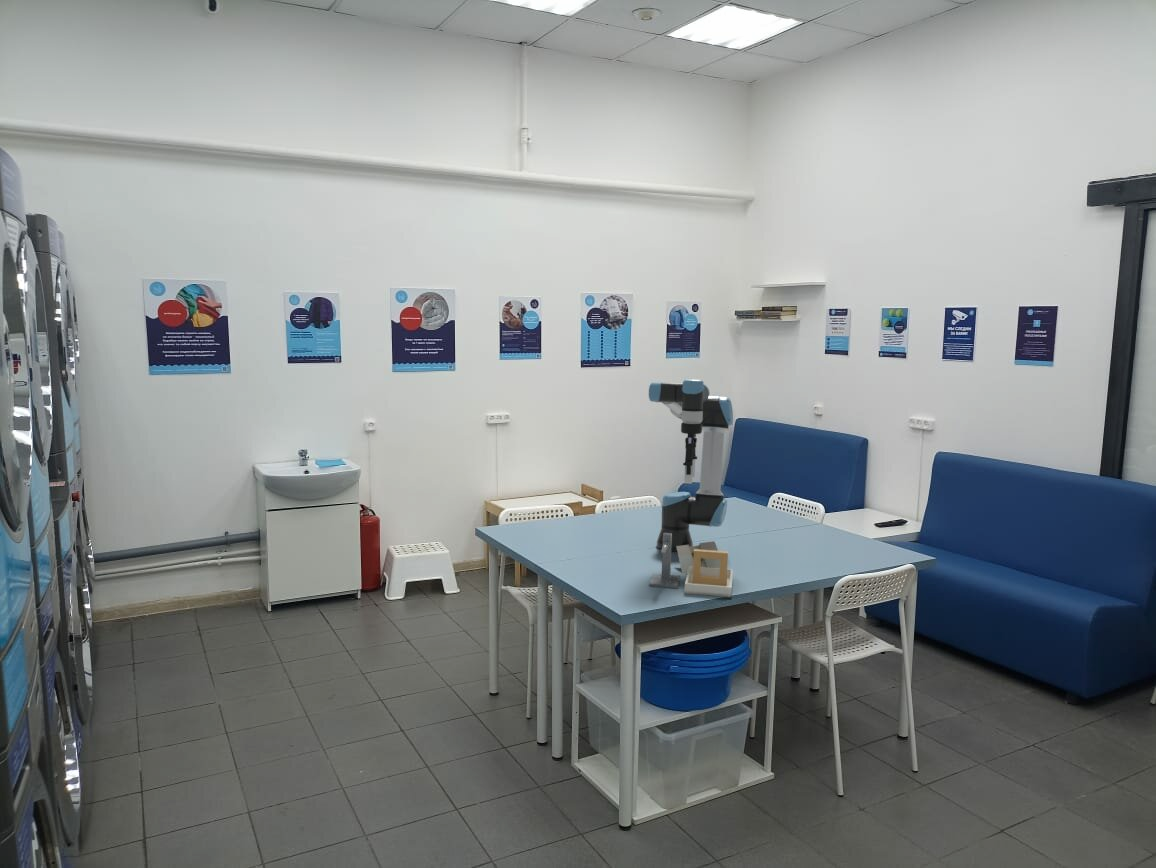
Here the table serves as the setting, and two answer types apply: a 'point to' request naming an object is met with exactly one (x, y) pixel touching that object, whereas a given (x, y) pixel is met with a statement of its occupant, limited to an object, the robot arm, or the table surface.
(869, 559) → the table surface
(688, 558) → the grey angular piece
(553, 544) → the table surface
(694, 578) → the picture frame
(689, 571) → the tray
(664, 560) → the hook stand
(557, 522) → the table surface
